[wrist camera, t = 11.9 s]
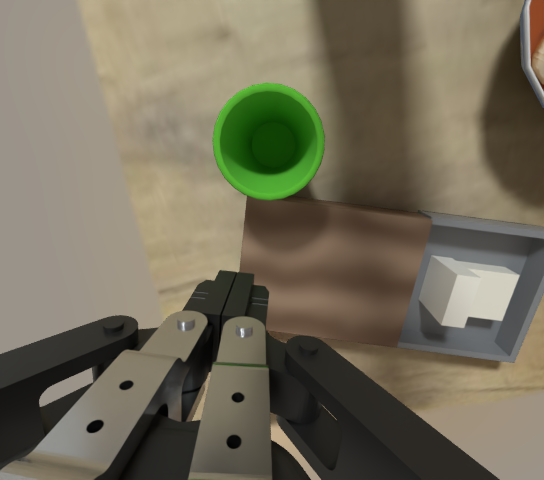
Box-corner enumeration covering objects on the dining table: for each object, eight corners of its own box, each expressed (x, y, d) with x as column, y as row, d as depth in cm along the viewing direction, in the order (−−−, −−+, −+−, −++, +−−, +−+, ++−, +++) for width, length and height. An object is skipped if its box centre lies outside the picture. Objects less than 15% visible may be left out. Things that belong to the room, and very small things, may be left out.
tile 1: (457, 274, 32) (481, 277, 32) (431, 255, 38) (451, 257, 38) (441, 325, 34) (463, 328, 34) (418, 299, 39) (437, 301, 39)
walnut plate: (251, 191, 37) (247, 196, 33) (417, 212, 37) (433, 220, 33) (238, 309, 41) (233, 325, 38) (386, 329, 41) (396, 347, 38)
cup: (228, 176, 36) (204, 188, 26) (242, 94, 34) (222, 70, 23) (302, 192, 37) (309, 211, 26) (322, 112, 34) (338, 96, 23)
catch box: (418, 210, 37) (431, 216, 33) (542, 226, 37) (568, 234, 33) (386, 330, 41) (394, 347, 38) (495, 345, 41) (514, 362, 38)
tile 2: (519, 275, 35) (504, 266, 38) (467, 268, 35) (456, 260, 38) (501, 321, 37) (488, 310, 39) (452, 314, 37) (442, 304, 39)
